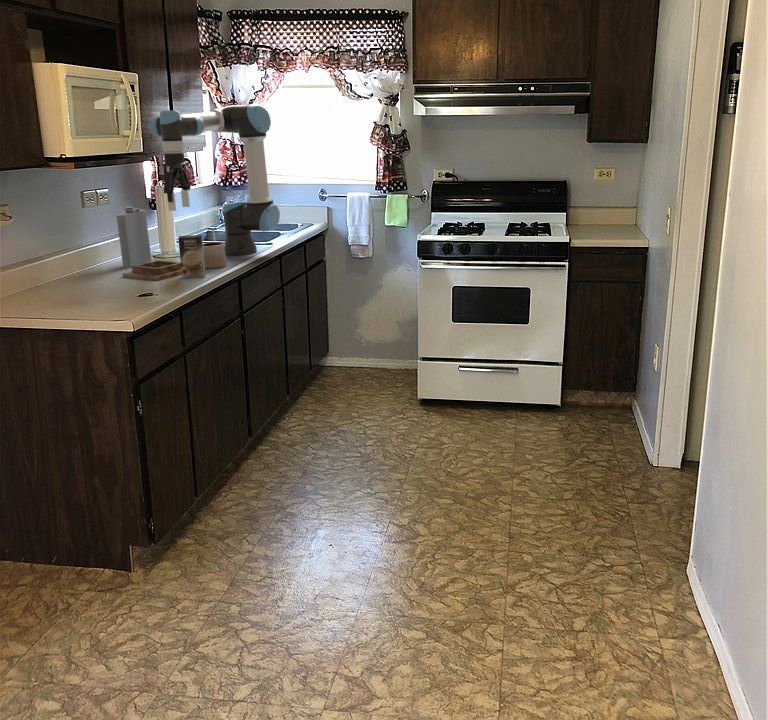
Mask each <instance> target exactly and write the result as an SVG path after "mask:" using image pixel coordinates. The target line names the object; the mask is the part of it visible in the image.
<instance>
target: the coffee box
mask: <svg viewBox="0 0 768 720" xmlns="http://www.w3.org/2000/svg"><path fill="white" fill-rule="evenodd" d="M177 238H178V239H177V241H178V246H179V247H178V248H179V249H178V251H179V258H180V262H181V270H182V275H181V279H193V278H195V279H197V278H206V274H207V273H206V269H205V262H204V252H203V243H204V241H203V235H202V234H195V235H194V234H193V235H179V236H178V237H177Z"/></svg>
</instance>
